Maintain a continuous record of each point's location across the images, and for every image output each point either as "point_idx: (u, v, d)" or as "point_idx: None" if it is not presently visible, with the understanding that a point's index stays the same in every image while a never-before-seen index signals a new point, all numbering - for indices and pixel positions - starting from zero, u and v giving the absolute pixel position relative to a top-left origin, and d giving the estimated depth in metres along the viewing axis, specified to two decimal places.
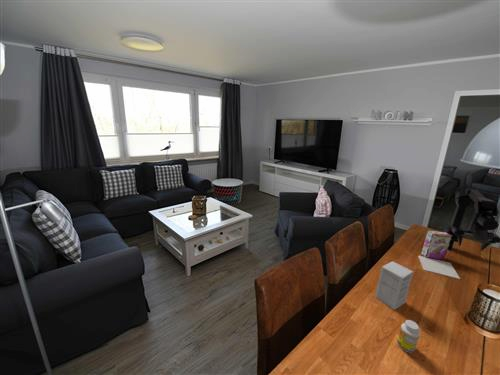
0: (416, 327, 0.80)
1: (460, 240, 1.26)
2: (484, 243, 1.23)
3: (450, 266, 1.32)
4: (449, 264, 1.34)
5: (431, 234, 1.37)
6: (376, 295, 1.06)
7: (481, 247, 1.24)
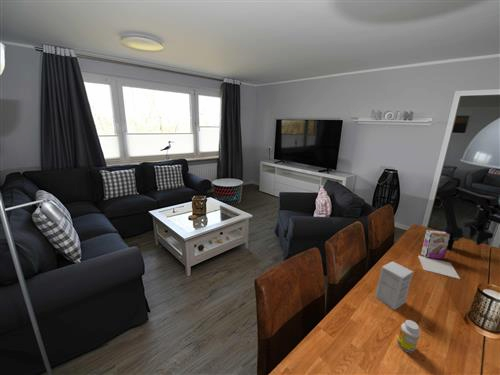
0: (416, 327, 0.80)
1: None
2: None
3: (450, 266, 1.32)
4: (449, 264, 1.34)
5: (429, 233, 1.38)
6: (376, 295, 1.06)
7: None
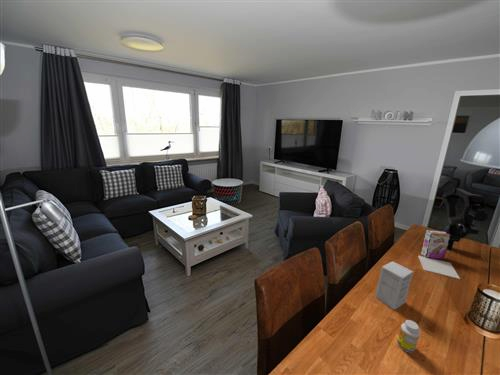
0: (416, 327, 0.80)
1: (459, 231, 1.40)
2: None
3: (450, 266, 1.32)
4: (449, 264, 1.34)
5: (430, 233, 1.38)
6: (376, 295, 1.06)
7: None
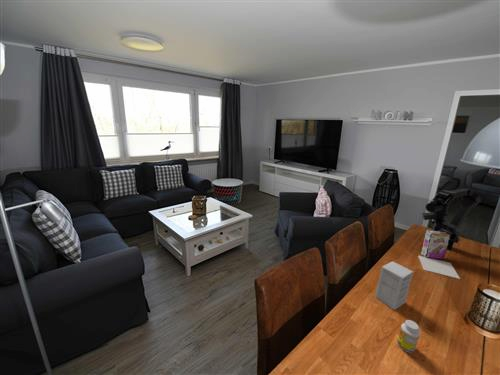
0: (416, 327, 0.80)
1: (433, 227, 1.46)
2: None
3: (450, 266, 1.32)
4: (449, 264, 1.34)
5: (430, 233, 1.38)
6: (376, 295, 1.06)
7: None
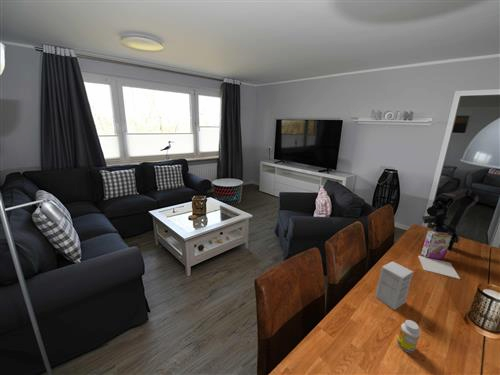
0: (416, 327, 0.80)
1: (433, 230, 1.45)
2: None
3: (450, 266, 1.32)
4: (449, 264, 1.34)
5: (431, 234, 1.37)
6: (376, 295, 1.06)
7: None
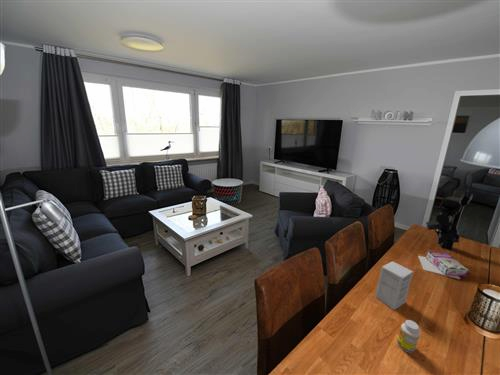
0: (416, 327, 0.80)
1: None
2: None
3: None
4: None
5: (444, 272, 1.25)
6: (376, 295, 1.06)
7: None
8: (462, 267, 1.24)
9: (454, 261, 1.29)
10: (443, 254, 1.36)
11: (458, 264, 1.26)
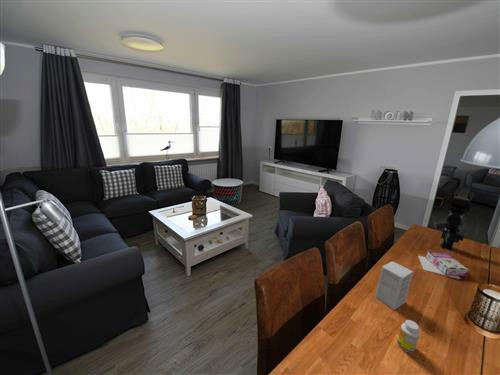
0: (416, 327, 0.80)
1: (445, 236, 1.34)
2: None
3: None
4: None
5: (444, 272, 1.25)
6: (376, 295, 1.06)
7: None
8: (462, 267, 1.24)
9: (454, 261, 1.29)
10: (443, 254, 1.36)
11: (458, 264, 1.26)
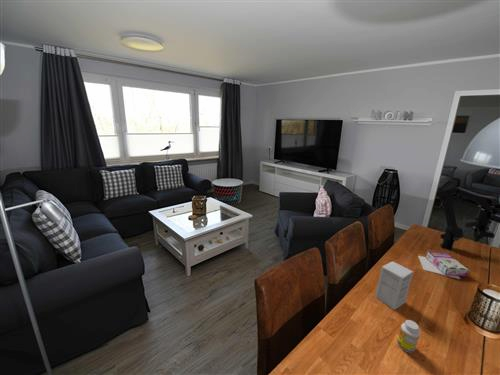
0: (416, 327, 0.80)
1: (474, 234, 1.37)
2: None
3: None
4: None
5: (444, 272, 1.25)
6: (376, 295, 1.06)
7: None
8: (462, 267, 1.24)
9: (454, 261, 1.29)
10: (443, 254, 1.36)
11: (458, 264, 1.26)
